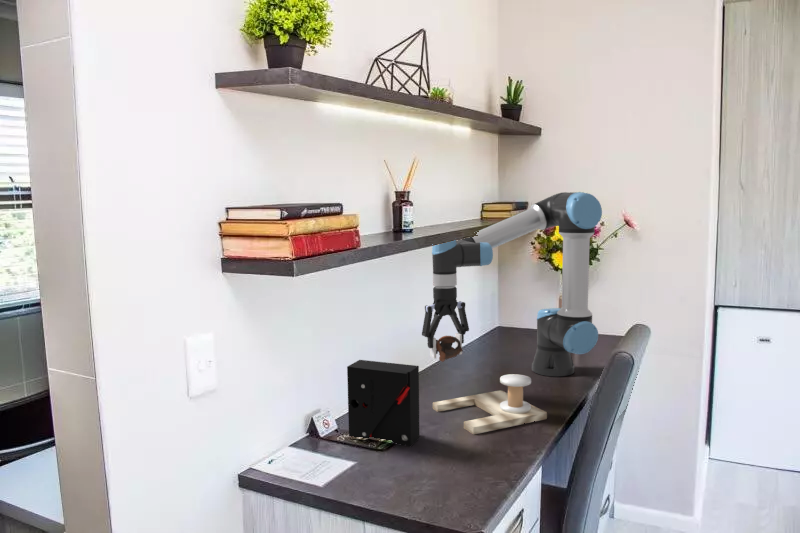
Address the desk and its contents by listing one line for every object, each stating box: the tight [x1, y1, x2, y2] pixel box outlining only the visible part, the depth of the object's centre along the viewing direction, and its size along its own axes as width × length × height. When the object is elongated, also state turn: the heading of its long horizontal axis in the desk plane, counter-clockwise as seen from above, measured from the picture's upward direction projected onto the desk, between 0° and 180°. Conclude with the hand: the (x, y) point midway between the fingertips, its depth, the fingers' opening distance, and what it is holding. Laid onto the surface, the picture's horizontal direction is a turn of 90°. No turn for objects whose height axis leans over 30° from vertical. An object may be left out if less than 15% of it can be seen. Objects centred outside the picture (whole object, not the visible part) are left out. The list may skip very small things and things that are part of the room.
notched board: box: [432, 389, 548, 435], centre depth 187 cm, size 25×23×2 cm
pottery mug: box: [427, 335, 464, 363], centre depth 203 cm, size 12×10×8 cm
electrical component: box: [346, 359, 420, 447], centre depth 169 cm, size 18×10×20 cm, turn 66°
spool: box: [499, 373, 532, 414], centre depth 185 cm, size 9×9×9 cm
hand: (446, 355), depth 203 cm, fingers closed on pottery mug, 9 cm apart
